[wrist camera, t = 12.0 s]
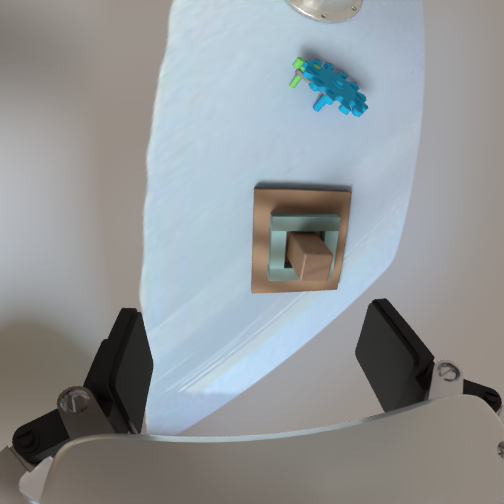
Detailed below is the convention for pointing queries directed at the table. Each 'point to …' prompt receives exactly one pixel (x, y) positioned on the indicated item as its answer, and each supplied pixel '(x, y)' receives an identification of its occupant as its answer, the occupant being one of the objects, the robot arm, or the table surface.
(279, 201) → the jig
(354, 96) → the gear
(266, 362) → the table surface
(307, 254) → the wooden block
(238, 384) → the table surface
